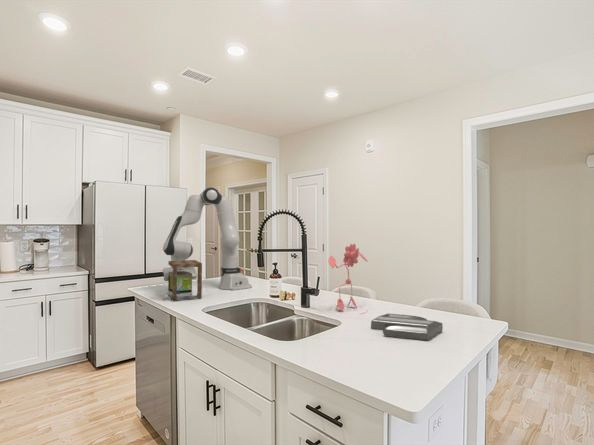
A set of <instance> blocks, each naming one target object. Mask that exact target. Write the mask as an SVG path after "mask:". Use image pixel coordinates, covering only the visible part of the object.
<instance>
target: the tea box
mask: <svg viewBox="0 0 594 445" xmlns="http://www.w3.org/2000/svg"><path fill="white" fill-rule="evenodd" d="M167 284H168V285H167V288H168V290H167V294H168V297H170V298H171V295H172V293H173V272H169V275H168V281H167ZM192 289H193V279H192V273H188V272H185V271H177V297H184V296H193V295H192V294H193V290H192Z"/></svg>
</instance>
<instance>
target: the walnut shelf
mask: <svg viewBox="0 0 594 445" xmlns="http://www.w3.org/2000/svg"><path fill="white" fill-rule="evenodd" d="M167 263H168V266H170V268H171V267H173V293H172V295H171V297H170V300H171V301H172V303H173V302H181V301H192V300H194V301H195V300H201V299H202V292H203V291H202V290H203V289H202V287H203V282H202V280H203V277H202V275H203V263H202V262H200V261H198V260H196V259H189V260H187V259H186V260H183V261H171V260H168V262H167ZM186 267H194V268H197V282H196V283H197V284H196V285H197V287H196V288H197V289H196V291H197V292H196V295H192V296H184V297H177V268H186Z"/></svg>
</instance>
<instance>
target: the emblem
mask: <svg viewBox="0 0 594 445" xmlns="http://www.w3.org/2000/svg"><path fill="white" fill-rule="evenodd" d="M370 328H371V330H377V331H382V334H383V336H385V337H389V338H398V339H399V338H401V339H411V340H420V341H430V340H432V339H434V338H435V337H437V336H439V335H440V334H441V333H443V329H444V328H443V322H439V321H437V320H430V319H429V320H428V319H427V318H425V317H421V316H416V315H410V314H409V315H408V314H398V313H386V314H381V315H378V316H377V317H376V318H373V319H372V320H371V321H370Z"/></svg>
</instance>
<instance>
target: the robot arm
mask: <svg viewBox="0 0 594 445" xmlns="http://www.w3.org/2000/svg"><path fill="white" fill-rule="evenodd" d="M231 202H232V201H231V200H230V198H229V196H225V195H222V194H221V193H220V192H219V190H218V189H216V188H215V187H206V188H205V189H203V191H202V192H201V193H200V194H192V195H190V196H189V197H188V198H187V201H186V204H185V206H184V209H183V212H182V214H181V215H179V216H178V217H176V219H175V221H174V223H173V224H172V227H171V230H170V233H169V234H168V236H167V238H166V240H165V242H164V244H163V246H162V250H163V252H164V253H165V255H166V256H170V261H183V260H187V259H189V258H190V257H191V256H192V255H193V252H194V247H193V245H192V244H191V243H189V242H185V241H180V240H176V239H177V236H178V234H179V233H180V230H181V228H182V227H186V226H190V225H194V224H196V223H198V222H199V221H200V219H201V217H202V213H203V208H204V206H210V205H213V206H214V207H215V209H216V216H217V221H218V226H219V230H220V233H221V237H220V250H221V252H220V253H221V267H220V282H219V286H218V289H219V290H220V289H221V290H230V291H236V290H237V291H238V290H244V289H251V288H252V287H253V286H252V284H249V279H248V277H247V276H246V275H245V274H244V273H242V271H243V270H244V269H243V267H239V255H238V245H239V244H240V235H239V230H238V228H237V224H236V220H235V214H234V209H233V205H232V203H231ZM177 271H185V272H188V273H192V280H197V278H198V271H197V269H196V267H186V268H177ZM169 272H173V267H171V266H170V267H164V268H163V269H162V273H163V281H164V282H168V275H169Z"/></svg>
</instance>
